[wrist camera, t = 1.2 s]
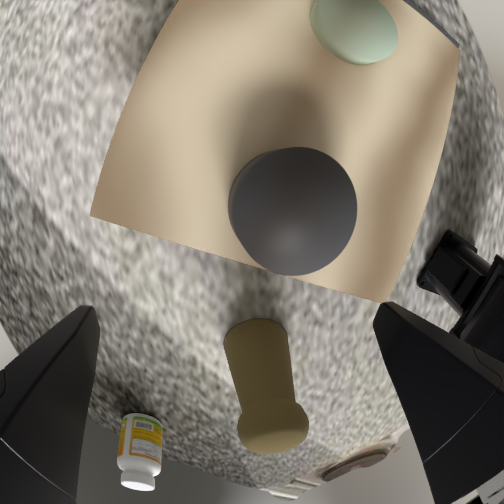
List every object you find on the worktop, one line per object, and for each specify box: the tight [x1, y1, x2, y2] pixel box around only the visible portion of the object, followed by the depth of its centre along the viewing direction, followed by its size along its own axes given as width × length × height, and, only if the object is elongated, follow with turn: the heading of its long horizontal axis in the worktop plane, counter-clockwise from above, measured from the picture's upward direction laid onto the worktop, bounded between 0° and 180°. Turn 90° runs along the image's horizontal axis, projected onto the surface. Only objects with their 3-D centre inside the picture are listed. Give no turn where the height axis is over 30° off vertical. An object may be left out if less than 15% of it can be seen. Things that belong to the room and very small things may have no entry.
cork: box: [224, 319, 309, 454], centre depth 22 cm, size 6×6×11 cm
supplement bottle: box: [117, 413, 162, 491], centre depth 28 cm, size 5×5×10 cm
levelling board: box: [90, 0, 460, 303], centre depth 12 cm, size 16×18×4 cm
